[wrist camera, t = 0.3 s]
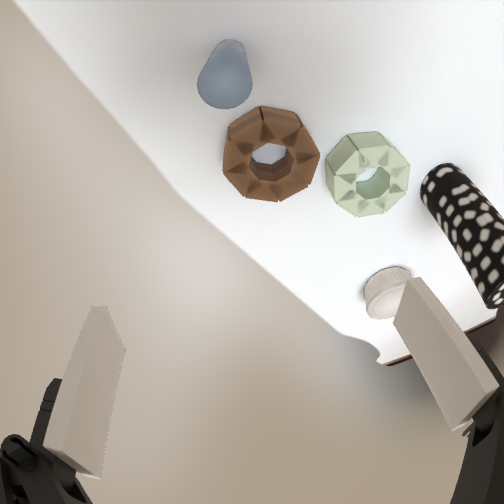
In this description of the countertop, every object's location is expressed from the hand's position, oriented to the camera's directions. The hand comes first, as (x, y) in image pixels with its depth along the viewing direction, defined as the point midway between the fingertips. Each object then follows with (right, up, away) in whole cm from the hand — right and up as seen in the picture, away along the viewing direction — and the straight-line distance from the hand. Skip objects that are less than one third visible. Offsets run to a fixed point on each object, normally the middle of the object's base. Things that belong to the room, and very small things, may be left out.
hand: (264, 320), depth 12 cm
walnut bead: (+1, +15, +22) cm, 27 cm away
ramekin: (+26, -3, +42) cm, 49 cm away
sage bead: (+14, +14, +24) cm, 31 cm away
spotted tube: (+29, +13, +26) cm, 41 cm away
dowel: (-3, +23, +13) cm, 27 cm away
